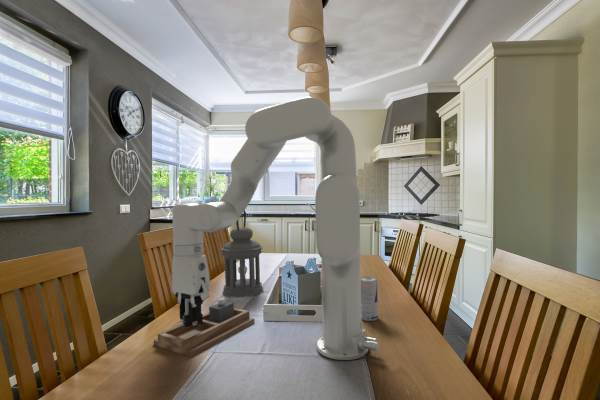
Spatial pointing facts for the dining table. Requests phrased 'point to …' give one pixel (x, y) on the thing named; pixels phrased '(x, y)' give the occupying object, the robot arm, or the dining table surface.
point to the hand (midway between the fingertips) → (190, 318)
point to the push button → (186, 315)
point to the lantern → (242, 263)
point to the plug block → (221, 311)
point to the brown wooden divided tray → (202, 333)
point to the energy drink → (369, 299)
